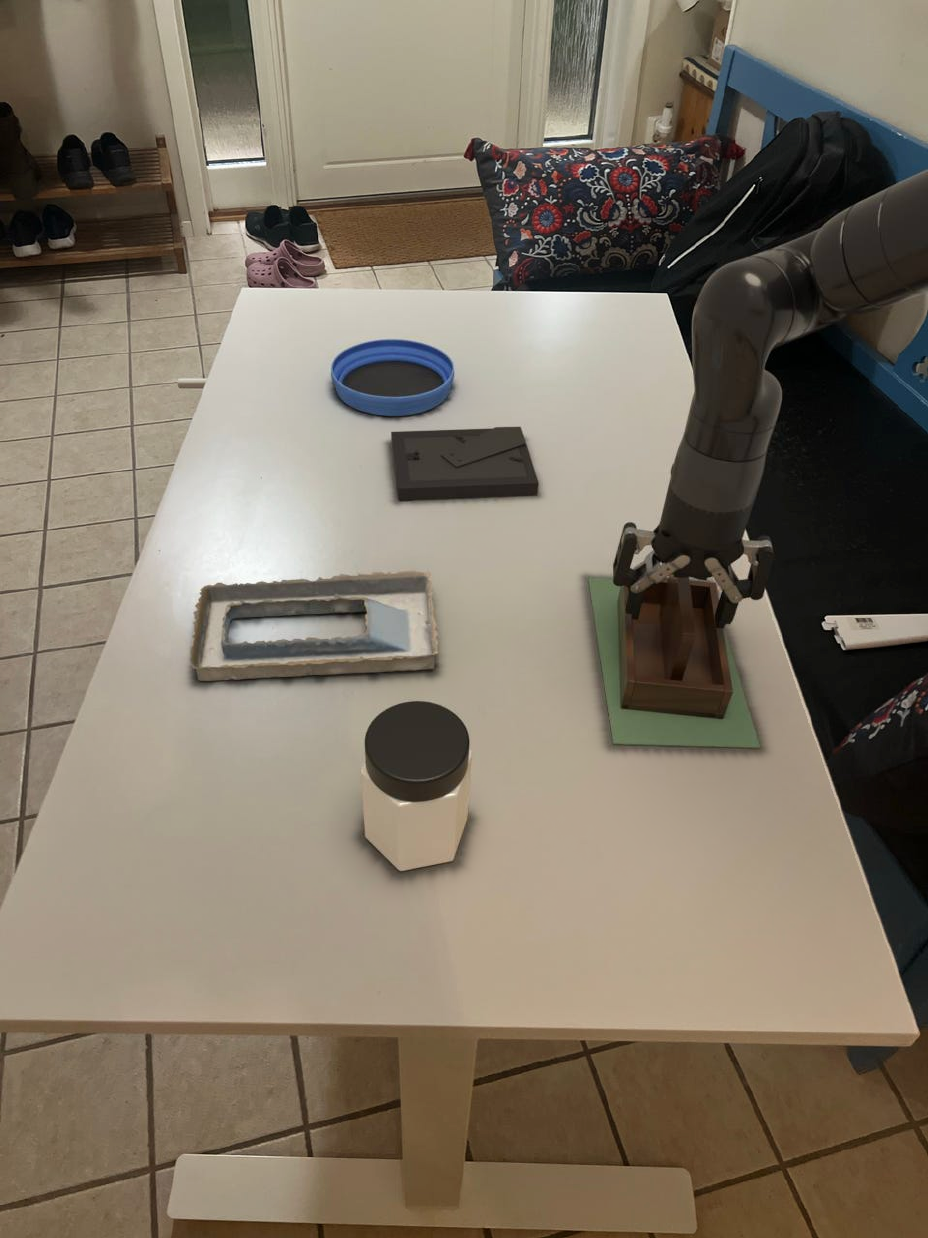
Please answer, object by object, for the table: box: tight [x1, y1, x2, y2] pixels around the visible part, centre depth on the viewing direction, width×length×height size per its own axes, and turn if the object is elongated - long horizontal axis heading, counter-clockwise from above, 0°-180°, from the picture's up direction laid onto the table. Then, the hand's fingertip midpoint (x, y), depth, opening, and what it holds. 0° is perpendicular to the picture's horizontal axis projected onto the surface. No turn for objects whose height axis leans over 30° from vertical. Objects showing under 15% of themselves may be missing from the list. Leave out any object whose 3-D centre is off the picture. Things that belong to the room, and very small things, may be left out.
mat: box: [587, 577, 761, 750], centre depth 93 cm, size 24×14×1 cm, turn 0°
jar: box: [360, 700, 473, 872], centre depth 72 cm, size 9×8×12 cm
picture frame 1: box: [189, 570, 439, 682], centre depth 92 cm, size 13×25×3 cm, turn 97°
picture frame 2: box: [390, 426, 540, 502], centre depth 116 cm, size 13×2×18 cm
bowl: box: [330, 338, 455, 417], centre depth 131 cm, size 18×18×4 cm
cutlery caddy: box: [618, 574, 733, 719], centre depth 89 cm, size 16×10×9 cm, turn 174°
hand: (676, 618), depth 89 cm, fingers open, 8 cm apart
